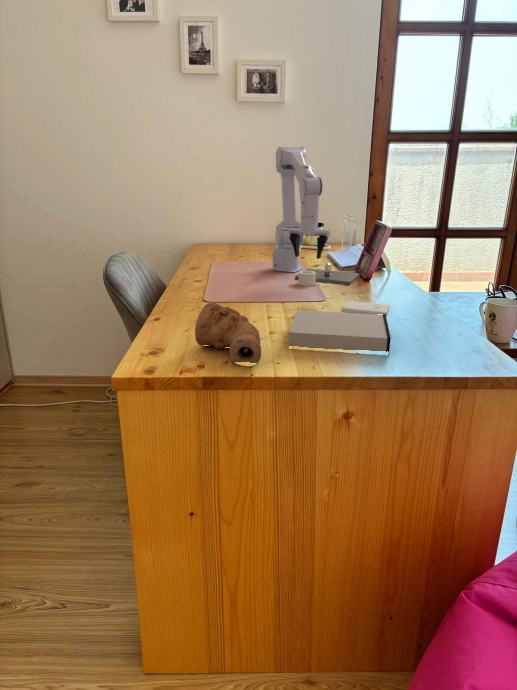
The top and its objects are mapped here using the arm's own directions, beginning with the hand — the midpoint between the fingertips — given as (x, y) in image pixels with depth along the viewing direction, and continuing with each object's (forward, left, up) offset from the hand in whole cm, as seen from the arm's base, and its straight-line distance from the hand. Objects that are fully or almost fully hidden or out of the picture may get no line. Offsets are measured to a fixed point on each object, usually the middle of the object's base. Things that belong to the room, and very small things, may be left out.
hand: (307, 257), depth 171 cm
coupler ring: (0, 0, -9) cm, 9 cm away
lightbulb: (-21, +52, -9) cm, 57 cm away
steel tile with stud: (+4, +12, -9) cm, 16 cm away
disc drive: (+24, -50, -10) cm, 56 cm away
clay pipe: (+3, -68, -10) cm, 69 cm away
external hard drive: (+25, -22, -10) cm, 35 cm away
